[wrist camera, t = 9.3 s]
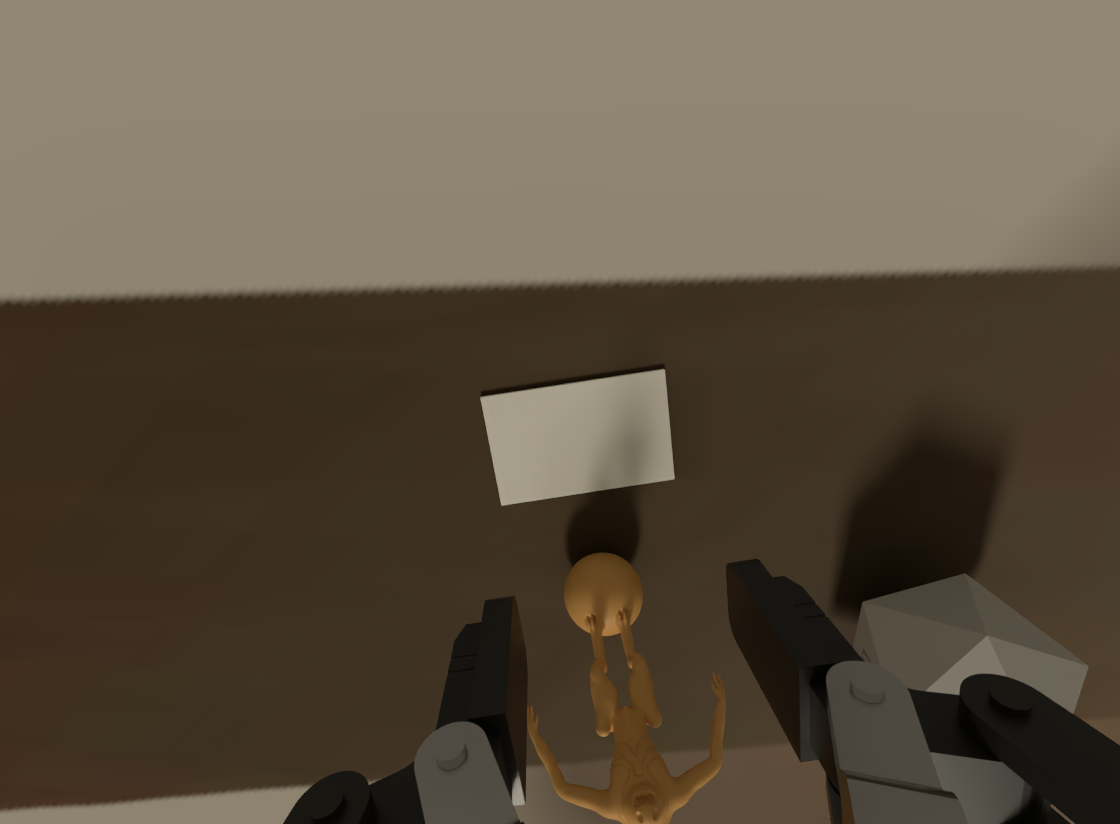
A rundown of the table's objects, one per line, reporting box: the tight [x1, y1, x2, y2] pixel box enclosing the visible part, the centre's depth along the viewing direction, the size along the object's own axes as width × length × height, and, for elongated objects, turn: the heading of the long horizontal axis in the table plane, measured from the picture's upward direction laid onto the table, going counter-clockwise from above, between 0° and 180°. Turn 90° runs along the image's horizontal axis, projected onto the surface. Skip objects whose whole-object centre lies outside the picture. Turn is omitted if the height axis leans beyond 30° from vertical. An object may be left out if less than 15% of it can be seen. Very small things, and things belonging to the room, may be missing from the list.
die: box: [853, 574, 1089, 714], centre depth 25 cm, size 8×9×10 cm
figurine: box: [527, 553, 726, 824], centre depth 23 cm, size 8×6×12 cm
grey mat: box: [480, 369, 675, 506], centre depth 26 cm, size 9×6×1 cm, turn 98°
